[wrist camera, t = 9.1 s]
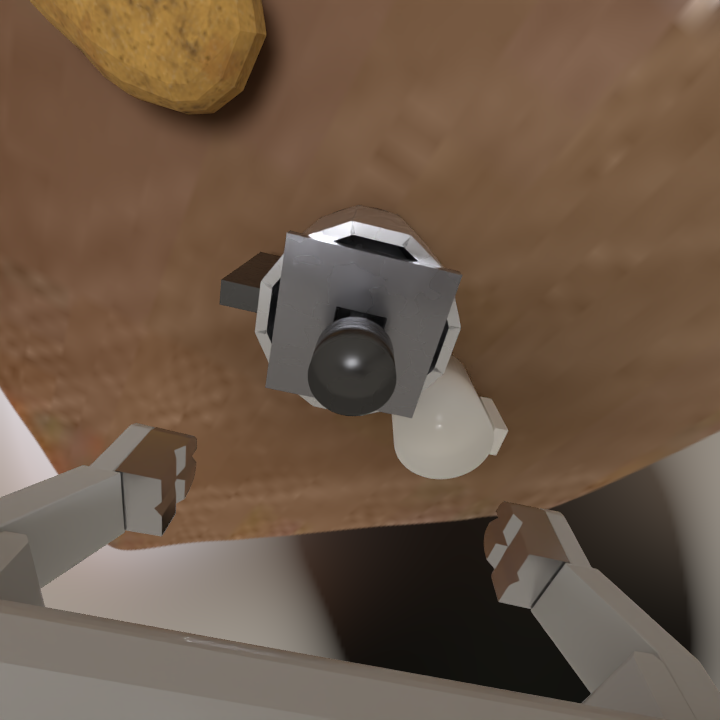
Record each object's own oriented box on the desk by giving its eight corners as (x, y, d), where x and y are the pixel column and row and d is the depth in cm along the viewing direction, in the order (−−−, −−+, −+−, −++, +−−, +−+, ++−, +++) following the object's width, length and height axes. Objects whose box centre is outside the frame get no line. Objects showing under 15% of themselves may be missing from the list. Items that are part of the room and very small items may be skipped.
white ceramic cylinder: (494, 362, 33) (527, 415, 26) (466, 427, 36) (489, 490, 29) (401, 341, 32) (409, 389, 25) (381, 409, 36) (383, 468, 28)
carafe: (447, 225, 28) (493, 257, 18) (407, 352, 33) (424, 437, 22) (275, 182, 27) (213, 188, 17) (259, 318, 32) (202, 391, 21)
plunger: (425, 245, 27) (474, 313, 14) (396, 340, 31) (415, 467, 17) (320, 219, 27) (270, 265, 14) (303, 319, 30) (249, 434, 17)
